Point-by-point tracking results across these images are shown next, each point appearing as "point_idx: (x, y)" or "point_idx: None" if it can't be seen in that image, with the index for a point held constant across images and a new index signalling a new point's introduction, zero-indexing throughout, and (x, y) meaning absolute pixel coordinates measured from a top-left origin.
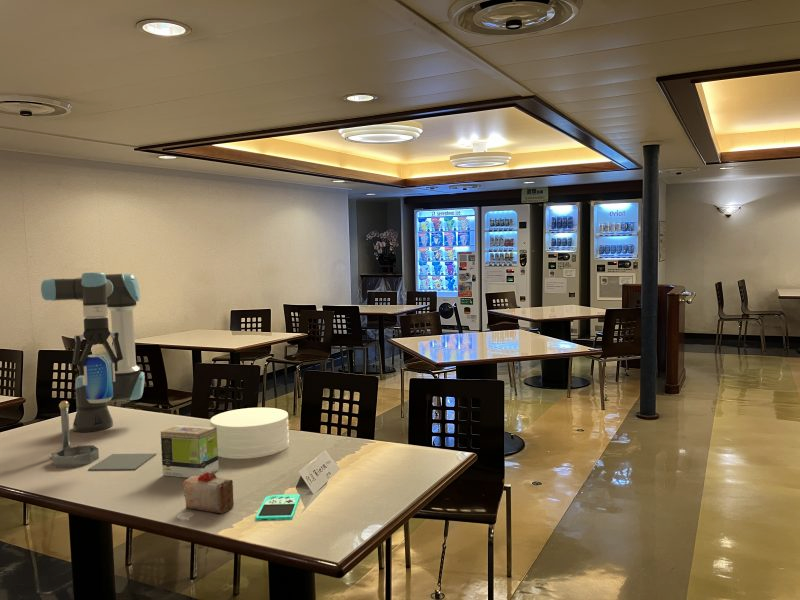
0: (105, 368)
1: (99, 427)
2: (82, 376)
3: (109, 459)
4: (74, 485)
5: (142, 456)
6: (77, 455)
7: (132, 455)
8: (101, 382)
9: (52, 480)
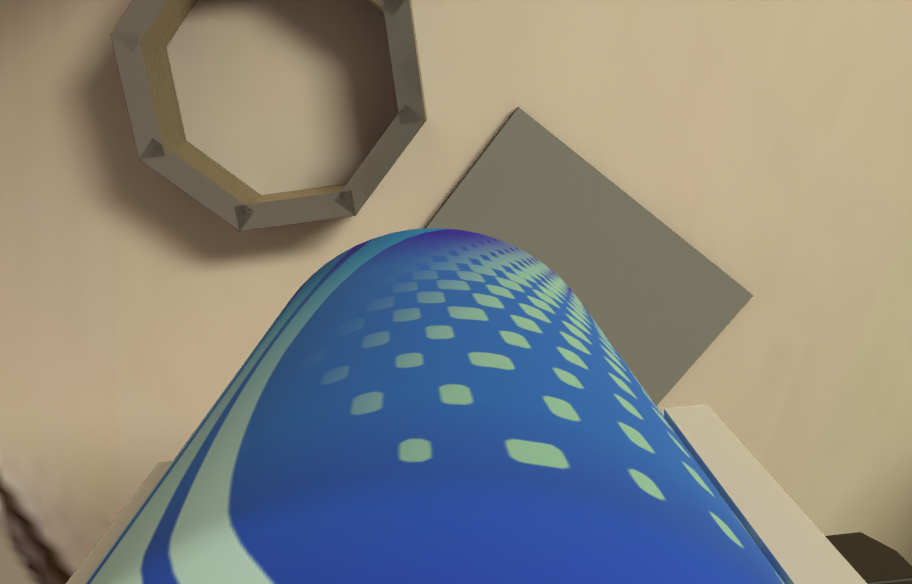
0: None
1: None
2: (91, 553)
3: (476, 231)
4: None
5: (664, 304)
6: (275, 208)
7: (619, 239)
8: None
9: (138, 403)
